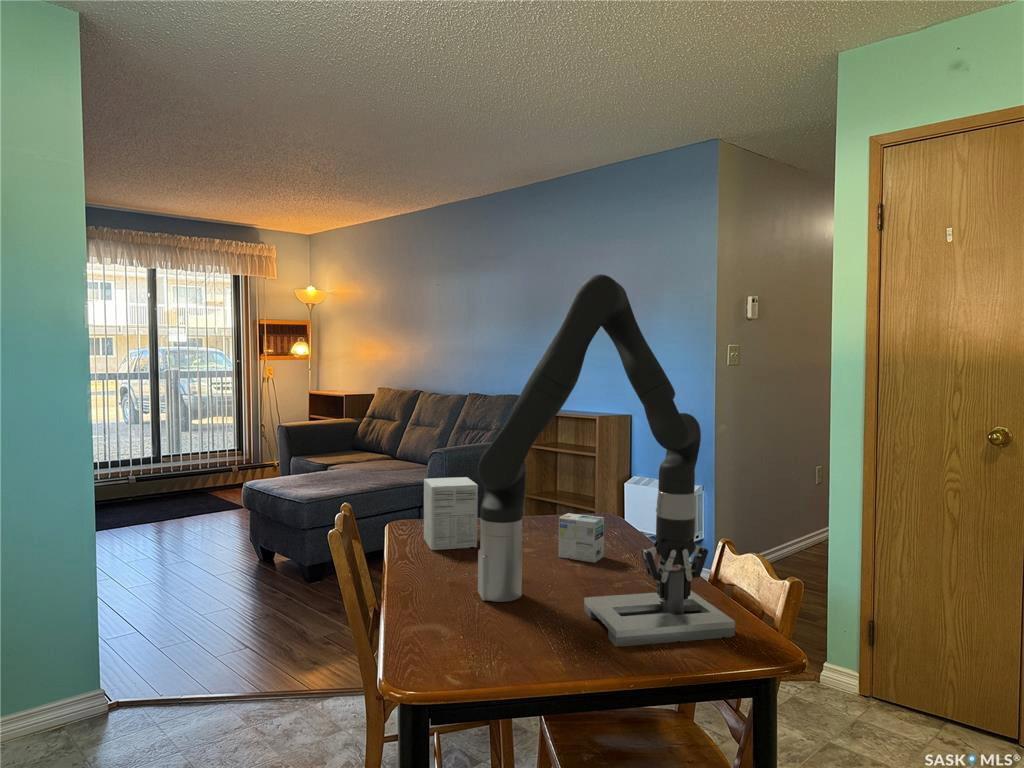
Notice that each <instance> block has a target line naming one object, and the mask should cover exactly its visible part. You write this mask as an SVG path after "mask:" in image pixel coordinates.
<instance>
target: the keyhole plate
mask: <svg viewBox="0 0 1024 768" xmlns="http://www.w3.org/2000/svg"><path fill="white" fill-rule="evenodd" d="M583 602H584V604H583V605H584V607H583V611H584V613H585V614H586V615H587V617H588V618H589V619H593V620H594V619H595V620H596V619H598V620H599V621H601V623H602V624H603V625H604V626H605V627H606V628H607V630H608V634H607V635H608V637H607V638H608V640H609V641H610V642H611V643H612V644H613V645H614V646H615V647H616V648H619V647H631V646H632V647H633V646H642V645H643V646H644V645H654V644H655V645H656V644H666V643H677V642H678V641H680V642H691V641H700V640H712V639H714V640H715V639H723V638H722V637H726V638H733V637H732V636H736V621H735V620H734V619H733V618H732V617H730V616H728V615H727V614H726V613H724V612H723V611H721V610H720V609H719V608H717V607H716V606H715V605H713V604H712V603H710V602H708V601H707V600H706V599H704V598H703V597H701V596H700V595H699V594H697V593H696V592H694V591H693V590H691V594H690V596H688V599H684V612H685V611H687V612H697V611H698V610H699V611H700V612H699V613H698V612H697V613H686V612H685V613H684V612H683V613H684V614H682V615H675V614H674V613H661V614H658V613H659V612H662V611H663V601H662V600H661V599H660V598H659V596H658V595H657V592H648V593H647V592H645V593H644V592H643V593H630V594H615V595H602V596H599V595H598V596H588V597H585V596H584V601H583ZM678 643H679V642H678Z"/></svg>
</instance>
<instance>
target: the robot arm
mask: <svg viewBox="0 0 1024 768" xmlns="http://www.w3.org/2000/svg"><path fill="white" fill-rule="evenodd" d="M576 292H577V293H576V294H575V297H574V299H573V301H572V303H571V305H570V307H569V309H568V312H567V314H566V316H565V317H564V320H563V322H562V324H561V325H560V328H559V329H558V331H557V332H556V335H555V336H554V337H553V339H552V340H551V342H550V344H549V345H548V347H547V349H546V351H545V352H544V354H543V356H542V357H541V359H540V360H539V362H538V363H537V364H536V367H535V368H534V370H533V371H532V373H531V375H530V376H529V378H528V380H527V381H526V383H525V385H524V387H523V389H522V391H521V393H520V394H519V396H518V398H517V400H516V402H515V404H514V406H513V408H512V410H511V411H510V414H509V416H508V418H507V420H506V422H505V423H504V425H503V427H502V428H501V429H500V431H499V432H498V433H497V435H496V436H495V438H494V440H493V441H492V442H491V443H490V445H489V446H488V447H487V449H486V450H485V451H484V452H483V453H482V455H481V456H480V458H479V461H478V465H477V474H478V478H479V479H478V480H480V482H481V484H482V485H483V486H484V493H483V498H482V502H481V504H480V538H479V539H480V543H479V545H480V546H479V547H480V548H479V549H478V552H477V593H478V595H479V596H480V599H481V600H482V601H483V602H484V601H490V602H495V603H496V602H498V603H504V602H505V603H507V602H512V601H516V600H519V599H520V598H521V597H522V583H523V582H522V580H523V579H522V578H523V577H522V576H523V574H522V573H523V569H522V568H523V512H524V511H523V510H524V506H525V499H526V469H527V468H526V458H527V457H528V453H530V450H531V449H532V446H533V445H534V443H535V441H537V438H538V437H539V436H540V435H541V434H542V432H544V430H545V429H546V428H548V426H549V424H551V422H553V420H554V418H556V416H557V415H558V413H559V412H560V410H561V409H562V407H564V405H565V404H566V402H567V400H568V398H569V397H570V395H571V394H572V392H573V390H574V388H575V387H576V385H577V383H578V380H579V377H580V375H581V371H582V368H583V366H584V365H583V364H584V360H585V358H586V354H587V352H588V348H589V346H590V344H591V343H592V341H593V339H594V337H595V336H596V335H597V332H598V331H599V329H600V328H602V329H603V330H604V331H605V332H606V334H607V336H608V337H609V338H610V340H611V342H612V343H613V345H614V346H615V348H616V351H617V353H618V355H619V357H620V360H621V362H622V363H621V364H622V367H623V370H624V372H625V374H626V377H627V379H628V381H629V383H630V385H631V386H632V388H633V390H634V392H635V393H636V394H635V395H636V396H637V397H638V400H639V401H640V403H641V404H642V406H643V408H644V413H645V416H646V419H647V422H648V426H649V428H650V431H651V433H652V436H653V438H654V439H655V440H656V442H657V444H659V446H661V447H662V448H663V449H665V450H666V452H665V458H664V460H663V462H662V463H661V464H660V465H659V467H658V468H659V470H658V485H657V486H658V491H657V498H656V509H655V512H656V520H655V521H656V523H655V538H656V539H655V543H654V545H653V546H652V547H650V548H642V549H641V552H640V553H641V556H642V558H643V559H642V560H643V562H644V566H645V570H646V572H647V575H648V576H649V578H651V579H653V580H654V581H656V593H657V595H658V596H659V598H660V599H661V600H662V601H667V582H666V581H667V578H668V574H669V572H670V571H671V568H672V567H673V566H674V567H675V566H676V565H677V566H678V568H680V569H683V570H684V571H685V573H684V599H688V596H690V594H691V591H692V589H691V588H692V585H691V584H692V583H691V582H692V580H693V579H694V578H700V577H701V575H702V572H703V568H704V565H705V563H706V560H707V558H708V554H709V550H708V549H707V548H706V547H704V546H703V545H702V546H701V545H696V542H695V536H696V534H695V533H696V531H695V530H696V495H695V489H696V488H695V487H696V485H695V484H696V479H695V477H696V475H695V474H696V473H695V471H696V470H695V469H696V467H697V466H696V465H697V462H698V458H699V454H700V453H699V451H700V447H701V441H702V440H701V438H702V431H701V425H700V424H699V421H698V419H697V418H695V417H694V416H693V415H692V414H689V413H685V412H679V409H678V408H677V404H676V403H675V400H674V399H675V396H676V391H675V389H674V387H673V385H672V383H671V381H670V379H669V377H668V376H667V374H666V373H665V371H664V369H663V368H662V365H661V363H660V362H659V360H658V358H657V357H656V355H655V354H654V352H653V350H652V349H651V347H650V346H649V344H648V343H647V341H646V338H645V337H644V335H643V333H642V331H641V329H640V326H639V324H638V322H637V320H636V319H637V318H636V317H635V315H634V312H633V308H632V305H631V303H630V301H629V298H628V294H627V292H626V290H625V288H624V287H623V286H622V285H621V284H620V283H618V282H617V281H616V280H615V279H614V278H612V277H611V276H608V275H606V274H601V273H600V274H595V275H592V276H590V277H588V278H587V279H586V280H585V281H584V282H583V283H582V284H581V285H580V287H579V288H578V291H576ZM656 554H657V555H658V557H659V559H658V563H657V566H656V563H655V559H656ZM692 555H693V556H694V557H693V559H692V561H691V560H690V558H691V556H692Z"/></svg>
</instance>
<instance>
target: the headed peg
mask: <svg viewBox="0 0 1024 768" xmlns="http://www.w3.org/2000/svg"><path fill="white" fill-rule="evenodd" d="M684 573H685V571H684V570H683V569H680V568H679V567H675V566H674V567H673V566H672V568H671V571H670V572H669V574H668V578H667V581H666V582H667V601H663V611H662V612H659V613H658V614H661V613H674V614H675V615H682V614H685V613H684Z"/></svg>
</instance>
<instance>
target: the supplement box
mask: <svg viewBox="0 0 1024 768" xmlns="http://www.w3.org/2000/svg"><path fill="white" fill-rule="evenodd" d="M478 490H479V485H478V484H477V483H476V482H475V481H473V480H472V479H470V478H469V477H467V476H464V477H462V476H461V477H460V476H459V477H436V478H435V477H433V478H423V539H424V541H425V542H426V544H427V545H428V548H430V551H438V550H439V551H441V550H454V549H456V550H458V549H470V547H475V548H478V504H479V503H478V501H479V499H478V498H479V495H478V493H479V491H478ZM457 548H458V549H457Z"/></svg>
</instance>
